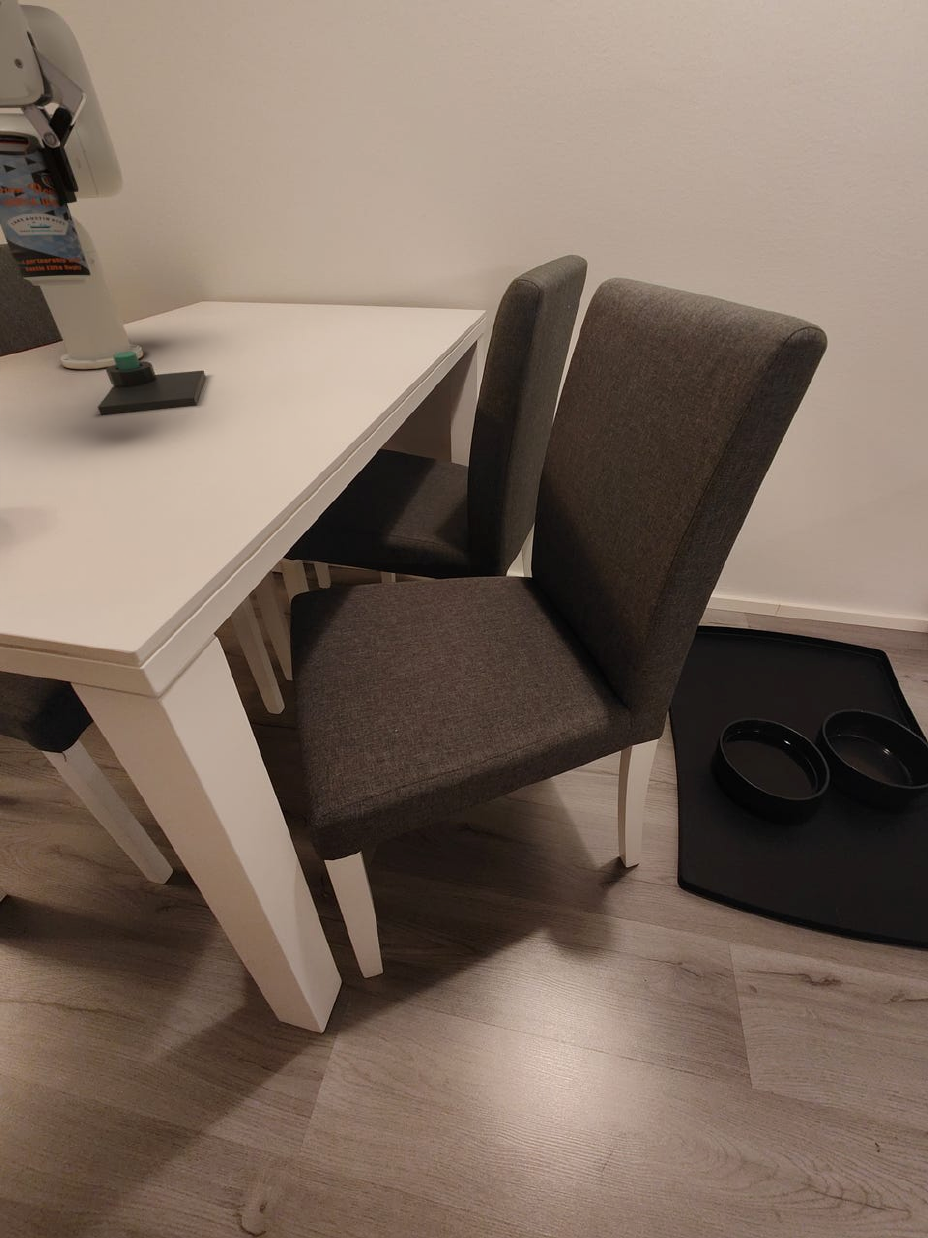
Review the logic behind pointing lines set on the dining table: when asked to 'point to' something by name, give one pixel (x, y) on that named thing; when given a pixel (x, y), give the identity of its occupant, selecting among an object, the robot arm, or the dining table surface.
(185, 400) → the scale
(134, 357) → the button
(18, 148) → the beverage can
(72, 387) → the dining table surface
